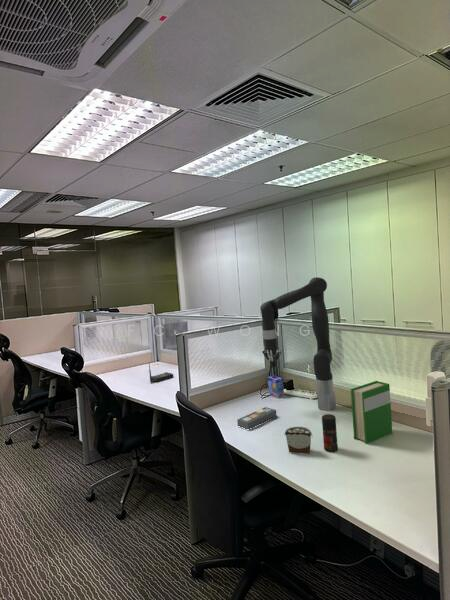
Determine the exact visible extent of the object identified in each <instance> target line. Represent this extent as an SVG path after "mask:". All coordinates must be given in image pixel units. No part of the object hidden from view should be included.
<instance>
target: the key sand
mask: <svg viewBox="0 0 450 600" xmlns="http://www.w3.org/2000/svg"><path fill="white" fill-rule="evenodd" d="M254 412H255V414H257V415H261V416H262V415H264V414H265V410H262V408H258V409H256V410H255V411H254Z"/></svg>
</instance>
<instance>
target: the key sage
mask: <svg viewBox="0 0 450 600" xmlns="http://www.w3.org/2000/svg"><path fill="white" fill-rule="evenodd" d="M242 420H243V421H246V422H249V421H251V420H252V418H249V417H246V418H244V419H242Z"/></svg>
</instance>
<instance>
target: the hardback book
mask: <svg viewBox="0 0 450 600" xmlns="http://www.w3.org/2000/svg"><path fill="white" fill-rule="evenodd" d="M390 389H391V387H390V383H387V382H383V381H378V380H375V381H371V382H369V383H366V384H362V385H358V386H356V387H352V388H351V389H350V398H351V400H350V401H351V415H352V416H351V417H352V429H353V439H354V440H361V441H363V442H364V444H365V445H369V444H371V443H373V442H375V441H377V440H381V439H383V438H385V437H387V436H390V435H392V434H393V424H392V422H393V421H392V406H391V403H392V402H391V390H390Z"/></svg>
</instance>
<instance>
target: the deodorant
mask: <svg viewBox="0 0 450 600" xmlns="http://www.w3.org/2000/svg"><path fill="white" fill-rule="evenodd" d="M321 424H322V437H323V438H322V439H323V450H324V452H327V453H336V452H338V450H339V447H338V435H337V434H338V433H337V420H336V415H334V414H329V413H327V414H324V415H322V416H321Z"/></svg>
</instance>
